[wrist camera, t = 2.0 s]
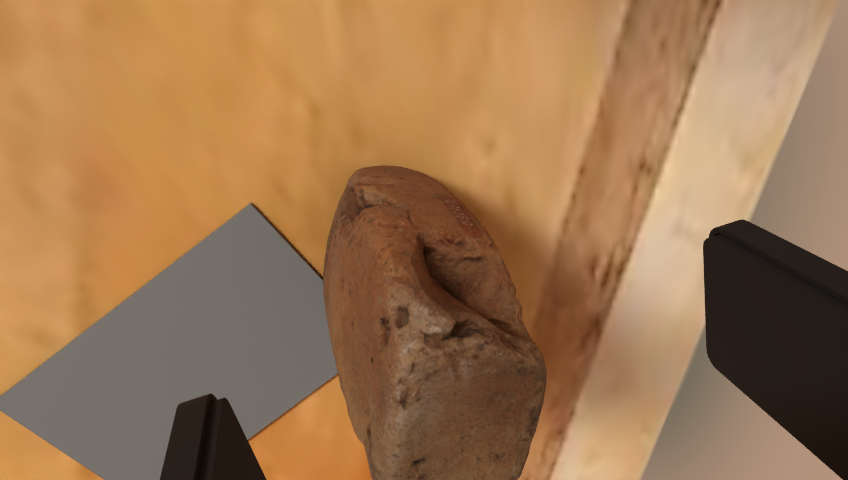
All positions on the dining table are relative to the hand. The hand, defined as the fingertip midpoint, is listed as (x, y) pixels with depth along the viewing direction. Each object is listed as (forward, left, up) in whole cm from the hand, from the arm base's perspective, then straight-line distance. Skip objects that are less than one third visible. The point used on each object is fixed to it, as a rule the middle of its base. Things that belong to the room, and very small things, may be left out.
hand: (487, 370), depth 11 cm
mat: (+20, +9, -29) cm, 36 cm away
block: (+4, +9, -29) cm, 31 cm away
